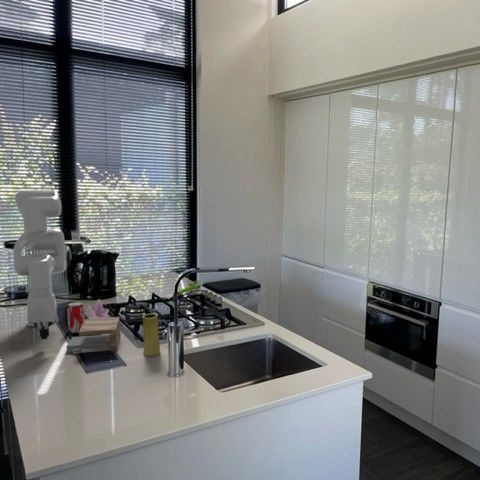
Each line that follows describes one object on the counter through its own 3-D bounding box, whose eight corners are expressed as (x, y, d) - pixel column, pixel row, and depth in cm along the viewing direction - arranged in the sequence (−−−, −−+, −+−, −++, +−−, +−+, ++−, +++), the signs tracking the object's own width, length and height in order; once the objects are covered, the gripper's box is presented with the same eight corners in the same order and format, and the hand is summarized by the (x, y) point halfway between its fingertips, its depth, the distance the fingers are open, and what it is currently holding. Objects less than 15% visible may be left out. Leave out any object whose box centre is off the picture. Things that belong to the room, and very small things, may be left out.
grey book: (72, 343, 178) (72, 336, 178) (114, 340, 180) (114, 333, 180) (66, 352, 168) (66, 345, 168) (111, 349, 171) (110, 342, 170)
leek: (161, 304, 242) (194, 287, 267) (171, 307, 238) (203, 290, 264) (161, 293, 240) (194, 278, 265) (171, 296, 237) (204, 280, 262)
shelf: (80, 340, 182) (78, 319, 181) (120, 337, 184) (119, 316, 183) (72, 354, 166) (70, 332, 165) (116, 351, 169) (115, 329, 168)
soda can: (80, 334, 189) (78, 306, 187) (65, 333, 190) (63, 305, 189) (89, 328, 196) (87, 301, 194) (74, 328, 197) (72, 301, 196)
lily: (84, 331, 196) (93, 313, 194) (78, 315, 205) (86, 297, 202) (110, 333, 204) (118, 316, 201) (102, 317, 212) (110, 300, 210)
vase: (163, 351, 168) (161, 314, 166) (155, 357, 162) (153, 318, 160) (148, 349, 170) (147, 312, 168) (140, 355, 164) (138, 317, 162)
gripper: (16, 295, 165) (20, 343, 167) (59, 293, 167) (63, 340, 170) (22, 289, 172) (26, 336, 175) (64, 287, 174) (67, 333, 177)
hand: (44, 338), depth 172 cm, fingers closed
